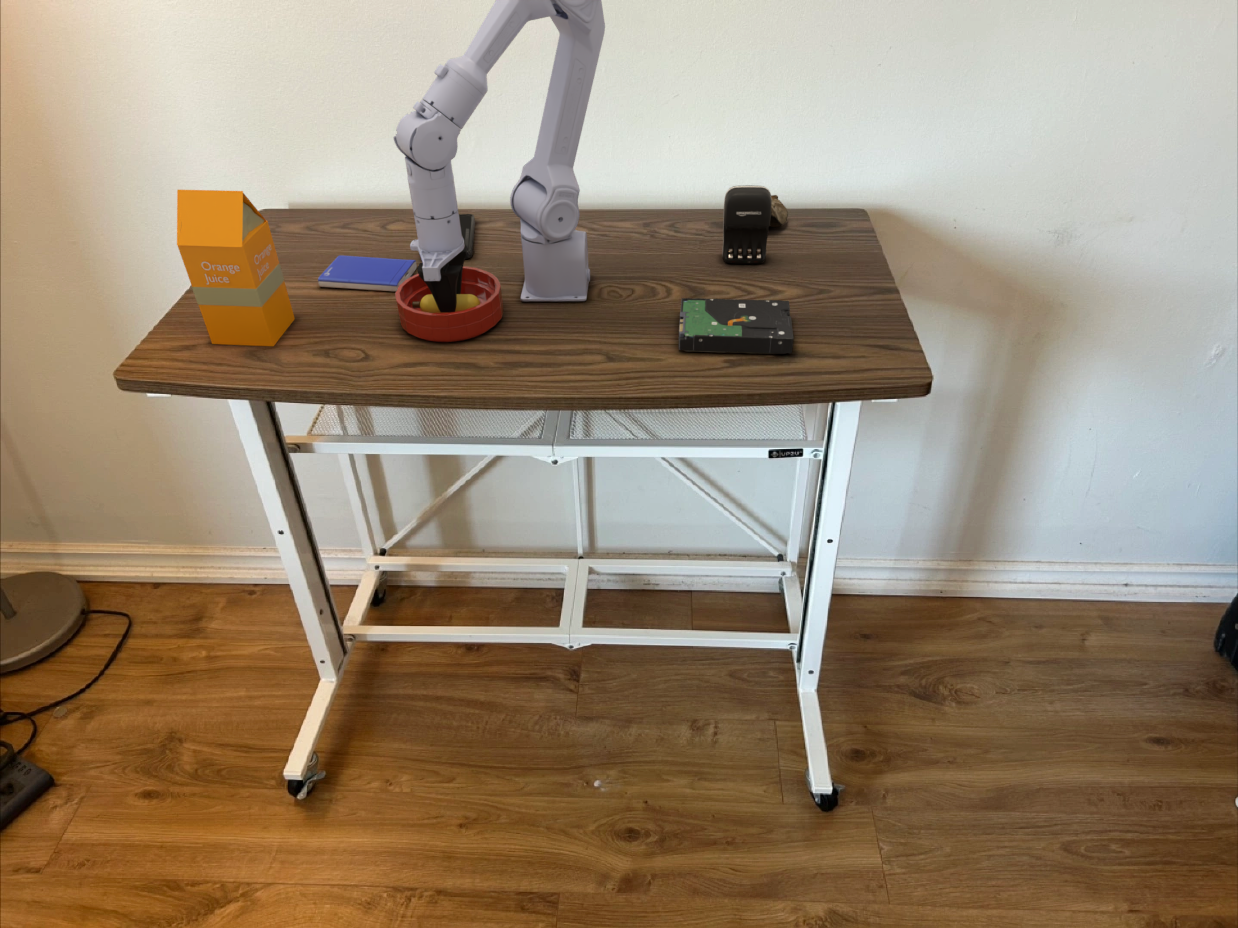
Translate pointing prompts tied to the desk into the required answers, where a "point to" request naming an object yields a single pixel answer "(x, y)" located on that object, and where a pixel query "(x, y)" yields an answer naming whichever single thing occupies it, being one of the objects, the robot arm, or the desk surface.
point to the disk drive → (735, 326)
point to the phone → (467, 231)
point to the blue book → (367, 273)
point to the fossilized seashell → (778, 212)
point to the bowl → (452, 323)
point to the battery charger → (746, 224)
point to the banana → (431, 307)
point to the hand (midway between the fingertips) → (450, 304)
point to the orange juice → (232, 267)
